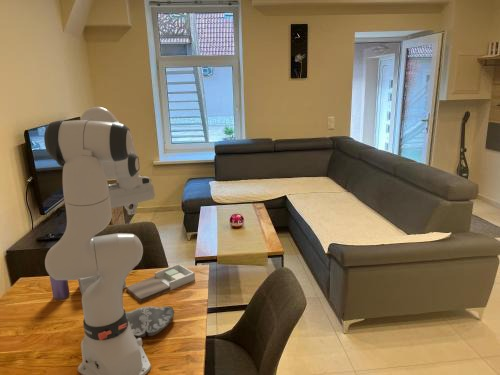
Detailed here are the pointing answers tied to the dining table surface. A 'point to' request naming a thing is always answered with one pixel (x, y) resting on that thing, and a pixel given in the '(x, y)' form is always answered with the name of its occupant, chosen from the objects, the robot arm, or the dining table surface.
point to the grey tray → (180, 281)
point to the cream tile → (176, 276)
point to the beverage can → (59, 288)
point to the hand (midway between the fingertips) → (132, 213)
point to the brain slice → (149, 320)
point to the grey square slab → (148, 289)
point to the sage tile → (170, 273)
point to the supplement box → (90, 282)
